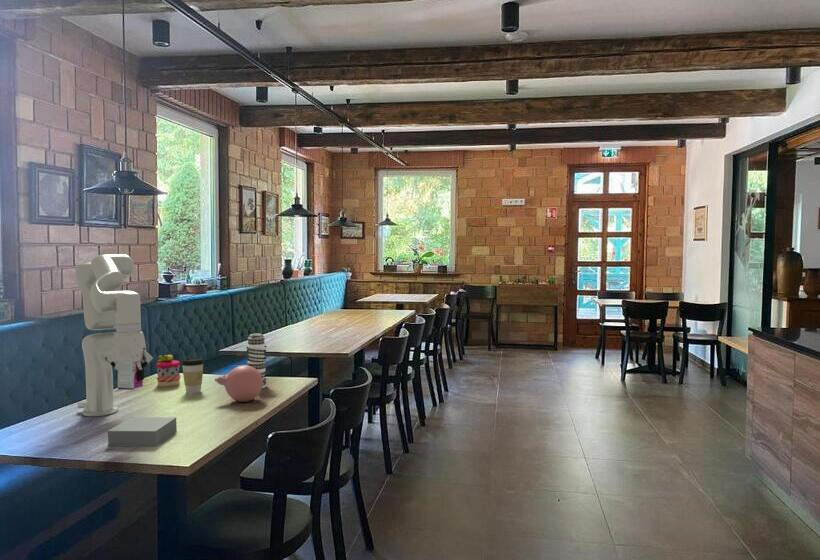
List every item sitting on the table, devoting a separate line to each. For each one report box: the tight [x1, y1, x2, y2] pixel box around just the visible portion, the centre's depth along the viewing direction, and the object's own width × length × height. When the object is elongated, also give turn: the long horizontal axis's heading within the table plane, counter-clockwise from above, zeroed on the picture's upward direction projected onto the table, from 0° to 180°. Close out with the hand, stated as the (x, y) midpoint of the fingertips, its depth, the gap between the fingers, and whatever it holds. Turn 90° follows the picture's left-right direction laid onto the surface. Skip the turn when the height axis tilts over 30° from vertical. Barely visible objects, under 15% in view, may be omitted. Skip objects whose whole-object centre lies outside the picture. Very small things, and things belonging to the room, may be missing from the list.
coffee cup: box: [180, 357, 205, 395], centre depth 268 cm, size 10×10×15 cm
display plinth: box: [107, 416, 178, 447], centre depth 202 cm, size 16×16×5 cm
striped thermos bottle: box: [246, 333, 267, 389], centre depth 278 cm, size 9×9×25 cm
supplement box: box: [117, 356, 144, 391], centre depth 202 cm, size 6×6×12 cm
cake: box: [156, 354, 182, 388], centre depth 284 cm, size 10×11×15 cm
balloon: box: [214, 364, 263, 403], centre depth 252 cm, size 15×20×15 cm
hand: (130, 380), depth 202 cm, fingers closed on supplement box, 6 cm apart
